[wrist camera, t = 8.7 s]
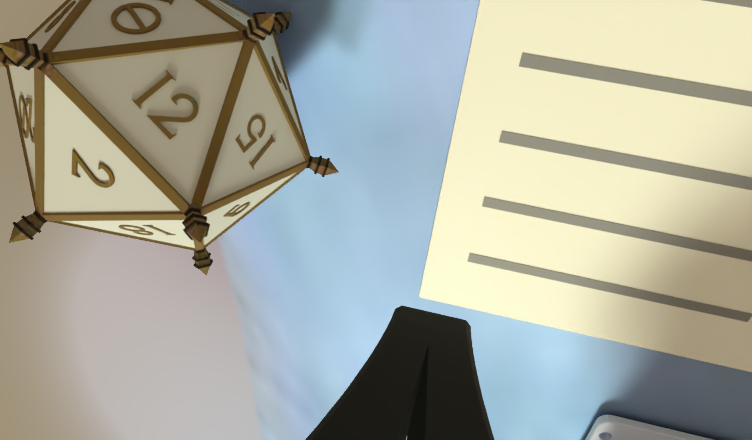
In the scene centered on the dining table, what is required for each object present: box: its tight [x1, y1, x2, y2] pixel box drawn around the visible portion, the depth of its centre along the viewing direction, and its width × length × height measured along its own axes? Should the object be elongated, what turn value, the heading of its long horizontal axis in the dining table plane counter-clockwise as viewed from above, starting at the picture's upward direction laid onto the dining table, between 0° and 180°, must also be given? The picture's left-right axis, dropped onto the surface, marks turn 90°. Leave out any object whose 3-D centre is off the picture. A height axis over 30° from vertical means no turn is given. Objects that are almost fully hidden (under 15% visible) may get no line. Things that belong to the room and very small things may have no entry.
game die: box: [0, 0, 338, 275], centre depth 15 cm, size 9×8×10 cm
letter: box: [419, 0, 752, 372], centre depth 16 cm, size 18×13×1 cm
